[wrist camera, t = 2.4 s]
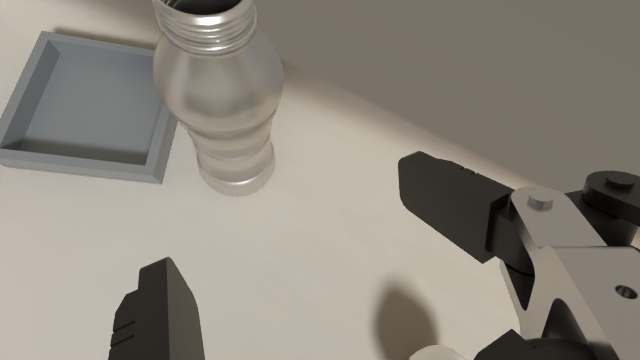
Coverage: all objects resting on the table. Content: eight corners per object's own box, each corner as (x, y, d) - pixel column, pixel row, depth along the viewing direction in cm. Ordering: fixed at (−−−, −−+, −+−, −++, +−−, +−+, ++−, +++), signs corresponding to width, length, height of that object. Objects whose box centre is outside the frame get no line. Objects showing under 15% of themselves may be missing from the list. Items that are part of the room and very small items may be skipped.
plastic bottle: (199, 144, 30) (91, -87, 11) (268, 135, 31) (276, -80, 13) (207, 208, 28) (95, 60, 9) (280, 195, 30) (309, 47, 11)
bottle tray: (6, 166, 26) (-18, 156, 24) (58, 49, 30) (41, 30, 28) (161, 184, 28) (152, 175, 26) (190, 70, 32) (184, 55, 30)
